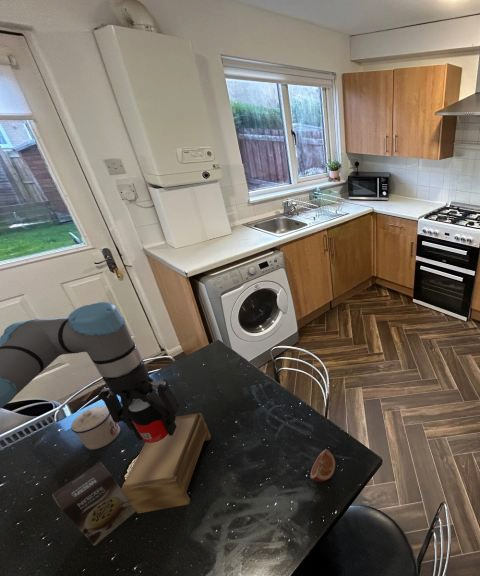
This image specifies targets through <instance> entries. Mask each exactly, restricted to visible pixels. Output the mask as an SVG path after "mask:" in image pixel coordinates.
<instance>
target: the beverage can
mask: <svg viewBox="0 0 480 576" xmlns="http://www.w3.org/2000/svg"><path fill="white" fill-rule="evenodd" d="M129 416H130V418H131V420H132V422H133V423H134V425H135V427H136V428H137V430H138V432H139V433H140V435H141V437H142V439H143V440H142V441H144V443H145V442H147V443H154V442H157V441H160V440H162V439H163V438H165V437H166V436H167V435H168V432H167V430H166V428H165V426H164V424H163V422H162V421H161V418H162V415H161V414H160V413H159V412H157V411H156V410H155V409H154V408H153V407H152V406H151V405H149V404H148V403H147V402H143V401H142V400H141V399H133V401H132V403H131V405H130V406H129Z"/></svg>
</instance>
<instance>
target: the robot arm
mask: <svg viewBox="0 0 480 576" xmlns="http://www.w3.org/2000/svg"><path fill="white" fill-rule="evenodd" d="M81 353H87V355H88V357H89V359H90V360H91V361H92V363H93V365H94V366H95V369H96V370H97V372H98V373H99V375H100V376H101V377H102V380H103V381H104V383H105V386H103V388H102V389H101V391H100V392H99V393H98V395H97V397H98V398H99V399H100V400H102V401H103V402H104V405H105V407H107V409H108V411H109V413H110V415H111V417H112V419H113V421H114V422H115V423H117V424H118V423H119V422H122V423H123V424H126V426H127V428H128V429H129V430H130V431H133V433H134V435H135V436H136V438H137V439H138V441H144V440H143V439H142V437H141V435H140V433H139V432H138V430H137V428H136V427H135V425H134V423H133V422H132V420H131V418H130V416H129V406H130V405H131V403H132V401H133V400H134V399H141V400H142V401H143V402H147V403H148V404H149V405H151V406H152V407H153V408H154V409H155V410H156V411H157V412H159V413H160V414H161V415H162V418H161V421H162V422H163V424H164V426H165V428H166V430H167V432H168V434H169V436H172V435H173V433H174V431H175V429H176V427H177V426H176V424H175V420H176V417H177V416H176V413H177V412H178V409H179V408H180V403H179V402H178V400H177V399H176V397H175V395H174V393H173V392H172V391H171V389H170V387H169V384H168V383H169V381H168V379H166V378H162V380H161V381H156V380H154V379H153V378H151V377H150V374H149V370H148V367H147V365H146V363H145V361H144V360H143V358H142V355H141V353H140V351H139V350H138V348H137V345H136V343H135V341H134V340H133V338H132V336H131V334H130V331H129V329H128V327H127V324H126V321H125V319H124V317H123V316H122V315H121V313H120V311H119V309H118V308H117V307H116V305H114V303H111V302H105V301H99V302H94V303H91V304H90V303H89V304H85V305H82V306H80V307H77V308H76V309H74V310H73V311H72V312H70V313H69V315H68V316H66V317H65V316H64V317H52V318H51V317H50V318H35V319H29V320H23V321H16V322H14V323H11V324H10V325H8V326H7V327H5V329H4V330H3V333H2V335H0V410H1V409H2V408H3V407H5V406H7V405H8V404H9V403H10V402H12V401H13V400H14V399H15V397H16V396H17V395H18V394H19V393H21V391H23V390H24V388H25V387H27V385H29V384H30V383H31V382H32V381H33V380H34V379H35V378H36V377H37V376H39V375H40V374H41V373H42V372H43V371H45V369H47V368H48V367H49V366H50V365H51V364H52V363H54V361H55V360H57V359H58V358H59V357H60V356H63V355H72V354H81ZM119 397H120V399H119Z"/></svg>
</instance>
